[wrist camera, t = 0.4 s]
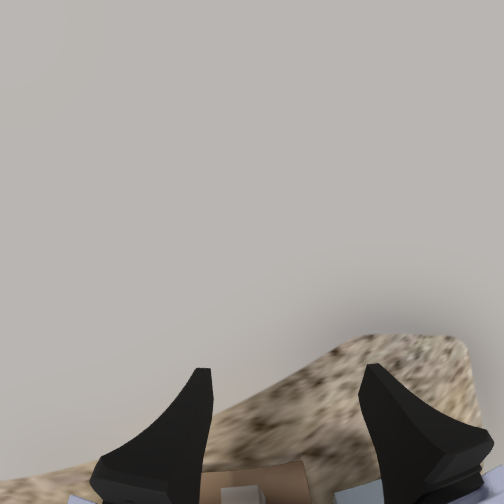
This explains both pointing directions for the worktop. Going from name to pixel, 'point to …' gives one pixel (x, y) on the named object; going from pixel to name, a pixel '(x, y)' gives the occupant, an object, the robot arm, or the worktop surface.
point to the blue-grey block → (361, 494)
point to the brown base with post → (256, 486)
